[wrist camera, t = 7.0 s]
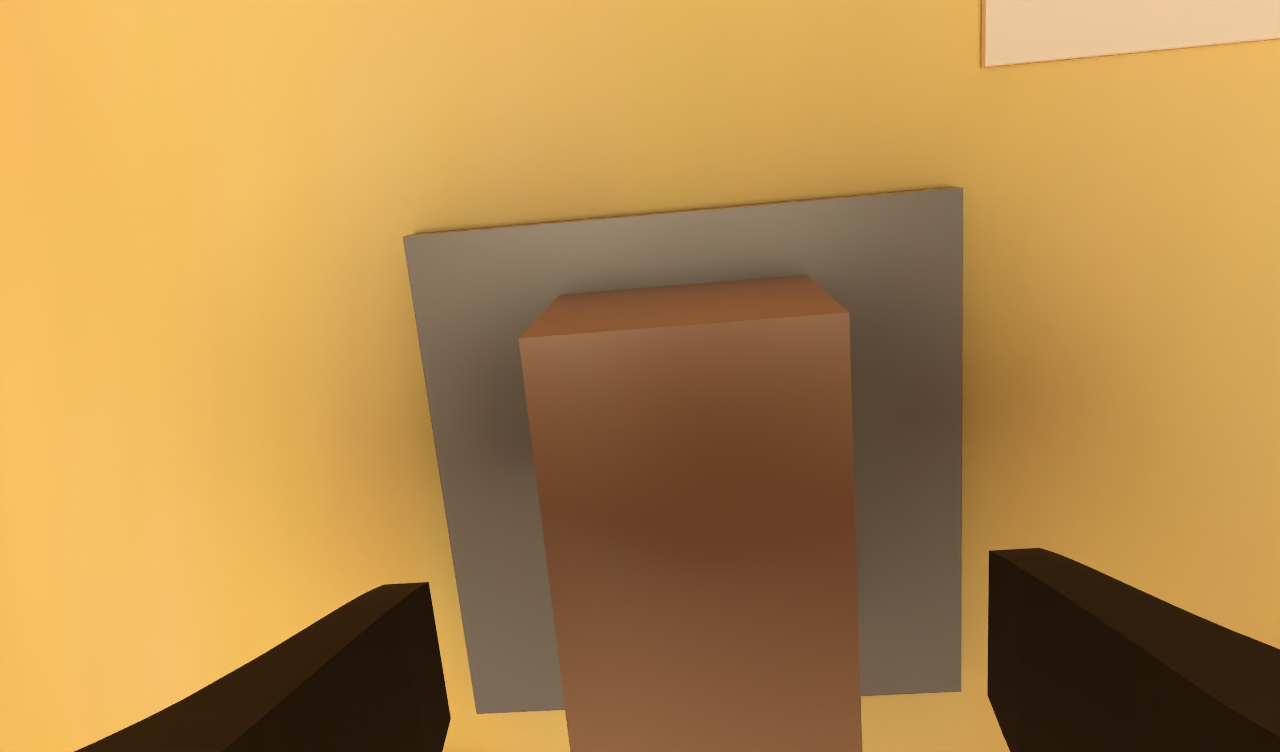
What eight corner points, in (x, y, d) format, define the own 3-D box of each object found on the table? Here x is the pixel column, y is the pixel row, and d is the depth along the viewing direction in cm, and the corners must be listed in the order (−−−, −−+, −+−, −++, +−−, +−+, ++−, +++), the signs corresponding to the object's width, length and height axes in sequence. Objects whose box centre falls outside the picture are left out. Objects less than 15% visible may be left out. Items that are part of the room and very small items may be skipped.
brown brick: (806, 274, 15) (848, 312, 11) (821, 622, 17) (862, 760, 13) (560, 294, 15) (518, 338, 12) (598, 634, 17) (572, 773, 13)
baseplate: (951, 187, 15) (962, 187, 15) (952, 674, 18) (961, 691, 17) (412, 234, 16) (403, 236, 15) (482, 696, 18) (476, 713, 18)
